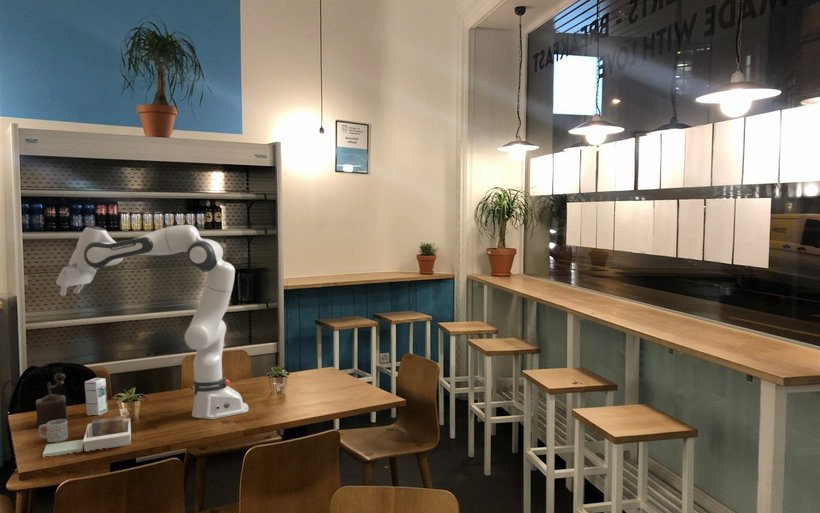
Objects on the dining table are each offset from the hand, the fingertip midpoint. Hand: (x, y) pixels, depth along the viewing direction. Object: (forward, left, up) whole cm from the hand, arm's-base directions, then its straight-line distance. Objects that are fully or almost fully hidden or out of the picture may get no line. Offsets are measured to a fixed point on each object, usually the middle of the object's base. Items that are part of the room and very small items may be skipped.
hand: (69, 294), depth 251 cm
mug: (+5, +26, -51) cm, 58 cm away
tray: (-14, +38, -51) cm, 65 cm away
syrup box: (-8, -2, -51) cm, 52 cm away
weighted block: (-14, +38, -51) cm, 65 cm away
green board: (0, +40, -51) cm, 65 cm away
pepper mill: (+8, 0, -51) cm, 52 cm away
